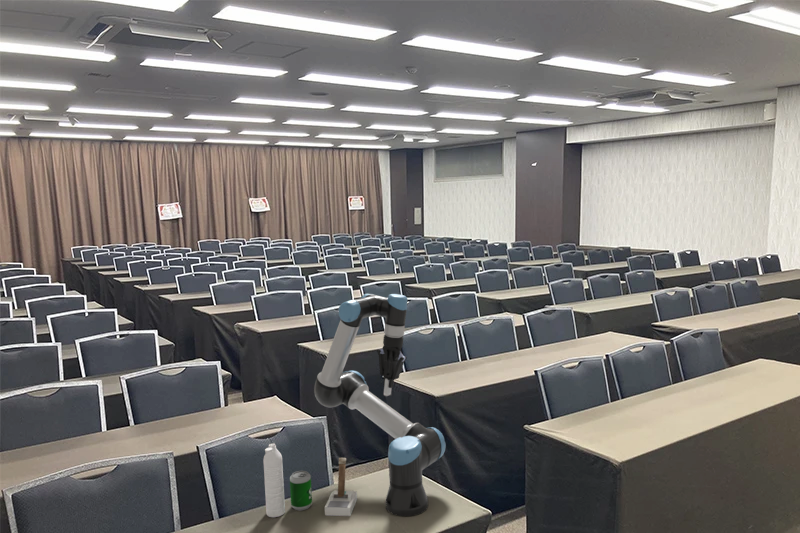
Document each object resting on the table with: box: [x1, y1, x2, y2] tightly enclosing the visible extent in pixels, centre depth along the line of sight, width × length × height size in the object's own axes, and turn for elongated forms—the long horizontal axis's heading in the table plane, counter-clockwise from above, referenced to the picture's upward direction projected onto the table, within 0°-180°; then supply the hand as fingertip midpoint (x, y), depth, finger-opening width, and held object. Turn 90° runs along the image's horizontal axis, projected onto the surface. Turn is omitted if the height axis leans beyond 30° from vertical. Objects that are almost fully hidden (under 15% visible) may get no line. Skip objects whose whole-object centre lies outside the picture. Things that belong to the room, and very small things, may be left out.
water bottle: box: [262, 442, 286, 518], centre depth 199 cm, size 9×6×25 cm
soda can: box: [289, 470, 313, 512], centre depth 204 cm, size 8×8×12 cm
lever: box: [334, 457, 348, 498], centre depth 205 cm, size 5×3×14 cm, turn 83°
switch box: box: [324, 489, 358, 517], centre depth 203 cm, size 9×12×5 cm
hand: (387, 394), depth 218 cm, fingers closed
